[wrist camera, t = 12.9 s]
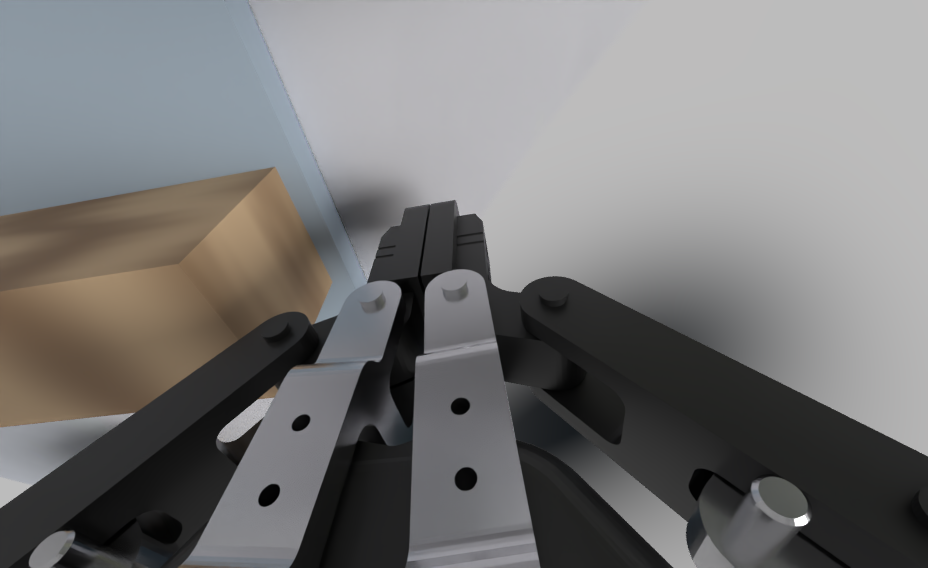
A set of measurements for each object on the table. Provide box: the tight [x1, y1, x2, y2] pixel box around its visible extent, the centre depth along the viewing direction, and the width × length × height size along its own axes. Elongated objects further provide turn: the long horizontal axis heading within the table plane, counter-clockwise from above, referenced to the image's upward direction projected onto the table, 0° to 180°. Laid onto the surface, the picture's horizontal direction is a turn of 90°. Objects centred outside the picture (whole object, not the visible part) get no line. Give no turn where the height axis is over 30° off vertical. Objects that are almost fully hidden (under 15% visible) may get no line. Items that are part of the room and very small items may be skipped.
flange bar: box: [0, 167, 332, 427], centre depth 12 cm, size 10×4×5 cm, turn 100°
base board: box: [0, 0, 367, 323], centre depth 14 cm, size 16×15×1 cm
